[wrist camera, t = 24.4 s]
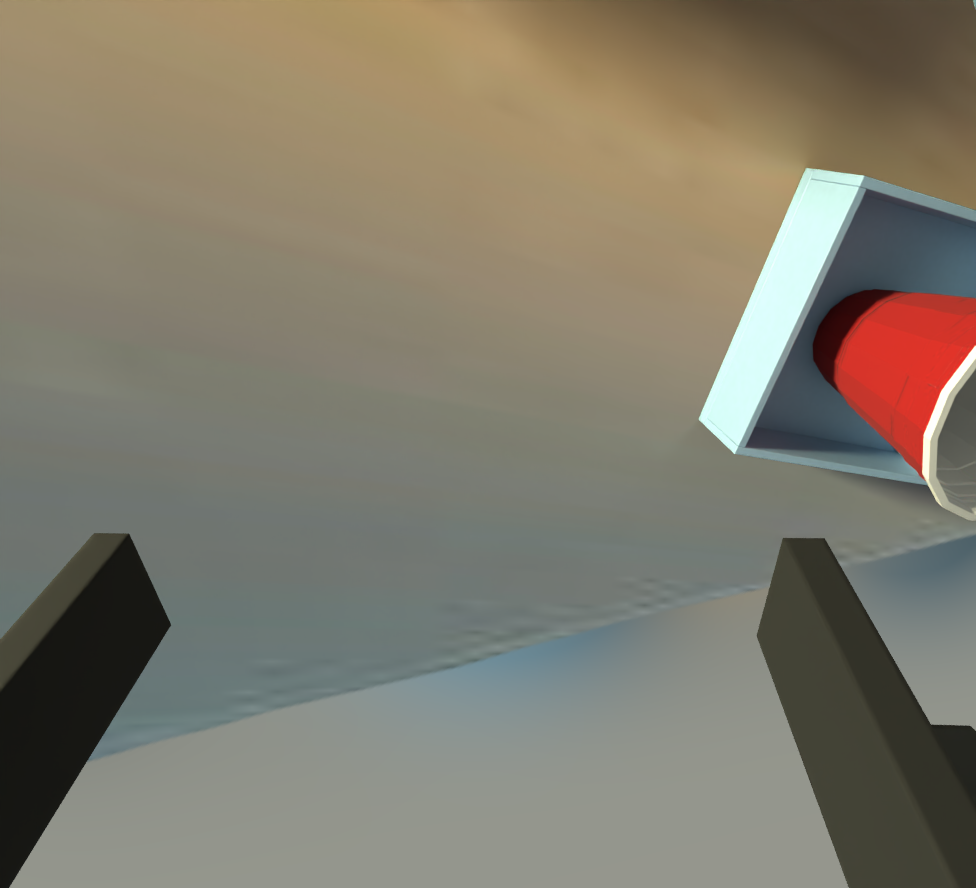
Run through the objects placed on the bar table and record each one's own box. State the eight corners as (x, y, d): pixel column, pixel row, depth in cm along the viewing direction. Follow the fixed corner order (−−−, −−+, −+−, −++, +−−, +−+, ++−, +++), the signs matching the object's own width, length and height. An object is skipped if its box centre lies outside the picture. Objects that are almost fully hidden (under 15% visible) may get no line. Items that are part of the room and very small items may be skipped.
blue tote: (805, 167, 34) (864, 175, 30) (1016, 232, 37) (1094, 246, 33) (697, 419, 40) (734, 454, 36) (888, 453, 44) (940, 487, 40)
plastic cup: (955, 361, 40) (1162, 451, 30) (798, 445, 41) (944, 560, 31) (931, 203, 35) (1171, 243, 24) (752, 303, 36) (909, 383, 26)
